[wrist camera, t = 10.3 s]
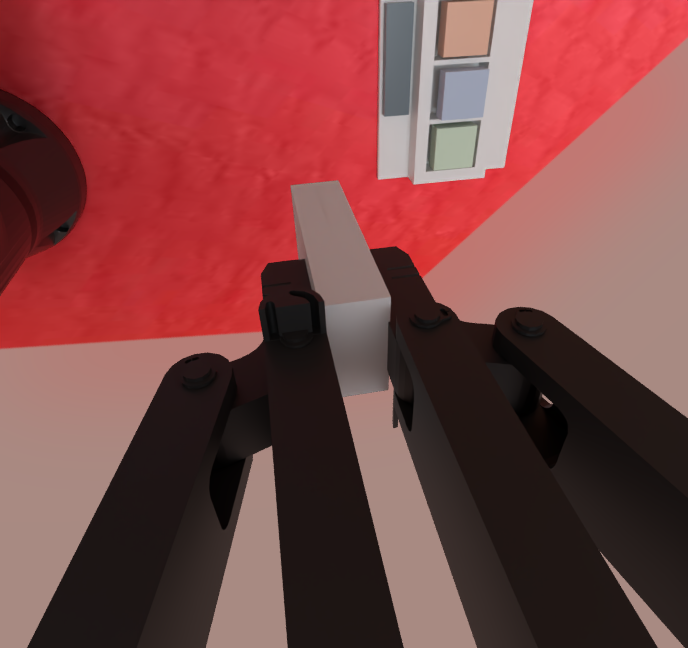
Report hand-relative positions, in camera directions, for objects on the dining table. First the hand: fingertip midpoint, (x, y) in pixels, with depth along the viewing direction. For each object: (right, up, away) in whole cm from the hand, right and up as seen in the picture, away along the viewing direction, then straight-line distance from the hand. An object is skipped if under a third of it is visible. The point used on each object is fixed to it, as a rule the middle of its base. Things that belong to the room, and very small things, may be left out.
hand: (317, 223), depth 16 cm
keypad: (+11, +22, +29) cm, 38 cm away
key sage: (+11, +15, +33) cm, 38 cm away
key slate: (+11, +19, +29) cm, 37 cm away
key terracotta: (+11, +23, +27) cm, 37 cm away
